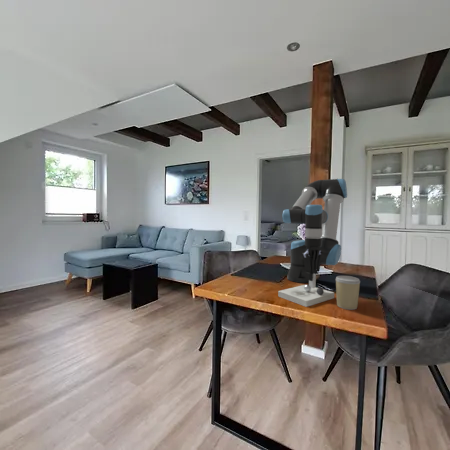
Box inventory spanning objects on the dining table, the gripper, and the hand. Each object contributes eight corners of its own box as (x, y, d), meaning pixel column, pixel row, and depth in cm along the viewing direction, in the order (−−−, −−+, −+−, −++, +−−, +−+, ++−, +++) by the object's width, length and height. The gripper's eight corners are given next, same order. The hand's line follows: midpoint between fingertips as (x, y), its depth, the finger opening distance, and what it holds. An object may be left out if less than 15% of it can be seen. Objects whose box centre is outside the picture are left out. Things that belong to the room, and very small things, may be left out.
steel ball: (302, 284, 119) (302, 291, 120) (308, 286, 117) (308, 293, 117) (306, 283, 121) (306, 290, 121) (312, 285, 119) (312, 291, 119)
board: (305, 289, 131) (305, 284, 131) (334, 298, 118) (334, 292, 118) (278, 296, 120) (278, 291, 120) (306, 306, 107) (306, 301, 107)
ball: (319, 293, 117) (319, 286, 117) (324, 294, 115) (325, 288, 114) (315, 294, 115) (315, 287, 115) (320, 296, 113) (320, 289, 113)
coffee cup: (351, 302, 113) (352, 275, 112) (364, 310, 103) (365, 281, 103) (331, 302, 112) (331, 275, 112) (341, 310, 103) (342, 281, 102)
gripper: (315, 236, 127) (313, 283, 128) (297, 237, 119) (296, 287, 120) (328, 237, 121) (327, 286, 122) (311, 239, 113) (310, 291, 114)
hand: (312, 287), depth 121 cm, fingers closed
